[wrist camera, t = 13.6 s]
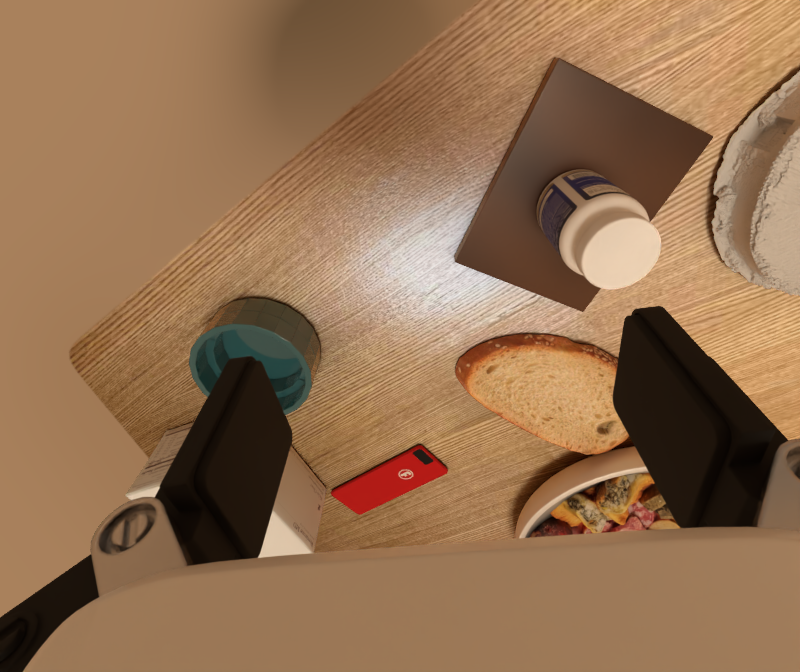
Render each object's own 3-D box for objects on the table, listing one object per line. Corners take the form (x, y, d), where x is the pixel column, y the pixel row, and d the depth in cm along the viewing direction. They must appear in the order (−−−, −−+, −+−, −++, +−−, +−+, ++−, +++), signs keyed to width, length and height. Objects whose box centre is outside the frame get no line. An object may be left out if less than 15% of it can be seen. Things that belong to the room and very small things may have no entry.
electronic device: (359, 512, 60) (448, 469, 54) (359, 515, 59) (449, 472, 54) (330, 490, 57) (420, 443, 52) (329, 494, 57) (420, 447, 51)
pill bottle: (561, 252, 37) (602, 313, 29) (520, 204, 35) (553, 255, 26) (623, 205, 34) (689, 257, 26) (584, 150, 32) (642, 187, 24)
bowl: (741, 396, 46) (794, 454, 40) (757, 541, 61) (797, 601, 55) (476, 473, 55) (485, 532, 48) (546, 585, 69) (559, 641, 63)
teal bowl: (219, 279, 41) (197, 306, 37) (334, 319, 43) (325, 349, 39) (204, 367, 47) (183, 398, 42) (305, 398, 49) (295, 431, 44)
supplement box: (329, 487, 57) (315, 557, 50) (247, 509, 61) (222, 578, 53) (256, 399, 49) (225, 466, 41) (164, 430, 52) (121, 498, 44)
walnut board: (554, 57, 30) (559, 57, 29) (705, 133, 32) (714, 136, 31) (453, 256, 39) (454, 262, 38) (579, 305, 41) (583, 312, 40)
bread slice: (446, 351, 44) (448, 374, 41) (632, 296, 40) (650, 318, 37) (492, 462, 54) (497, 488, 50) (647, 426, 49) (663, 452, 46)
